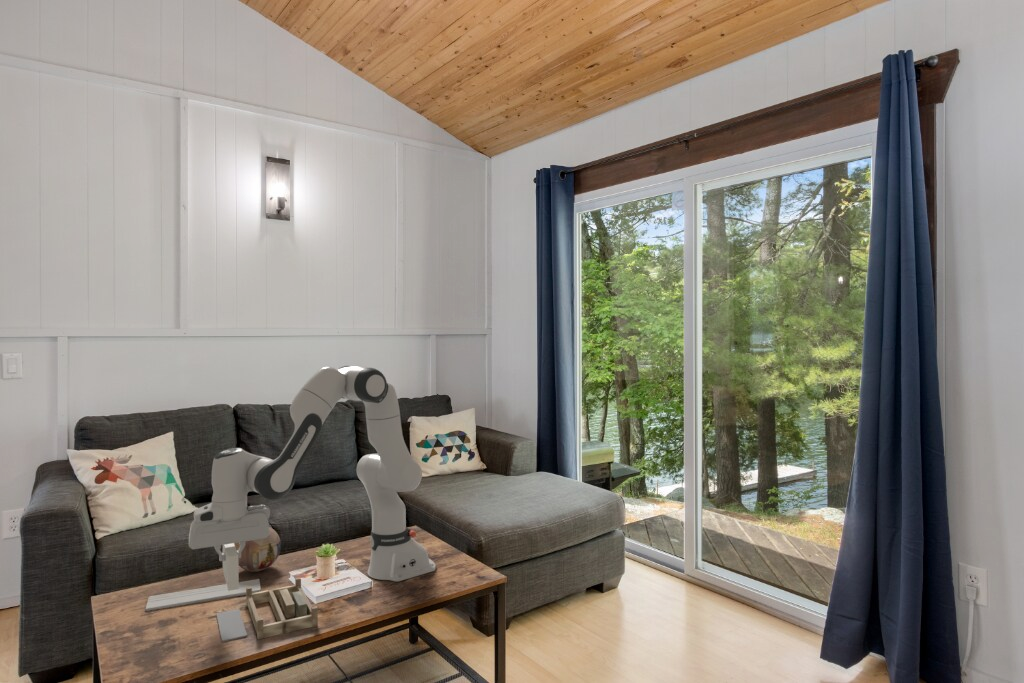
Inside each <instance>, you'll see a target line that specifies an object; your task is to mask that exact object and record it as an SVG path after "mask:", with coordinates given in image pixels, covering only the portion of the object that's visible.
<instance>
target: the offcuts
mask: <svg viewBox="0 0 1024 683" xmlns="http://www.w3.org/2000/svg"><path fill="white" fill-rule="evenodd" d="M278 600H279V601H278V603H279V605H280V606H281V610H282V611H283V613H284V616H285V619H286V618H287V619H288V618H289V619H290V618H293V617H296V618H298V617H303V616H307V603H306V601H305V599H304V597H303V596H302V594H301V592H300V591H297V592H292V597H291V596H290V594H289V592H288V590H287V589H283V590H279V599H278Z"/></svg>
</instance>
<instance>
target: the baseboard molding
mask: <svg viewBox="0 0 1024 683" xmlns="http://www.w3.org/2000/svg"><path fill="white" fill-rule="evenodd" d="M246 587H252V593H256V592H261V591H262V585H261V577H258V578H256V579H251V580H250V579H249V580H244V581H239V589H236V590H230V591H228V588H227V584H226V583H225V584H224V583H223V584H219V585H213V586H212V585H211V586H206V587H200V588H195V589H194V588H193V589H187V590H181V591H175V592H168V593H162V594H157V595H151V596H150V595H149V596H148V598H147V602H146V606H145V612H150V610H152V611H157V609H158V610H162V609H163V608H164V609H169V607H170V608H174V607H175V606H176V607H181V606H180V605H182V606H188V605H193V604H197V603H198V604H200V603H204V602H211V601H217V600H224V599H230V598H236V597H241V596H246ZM187 604H188V605H187ZM164 609H163V610H164Z"/></svg>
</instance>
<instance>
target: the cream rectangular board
mask: <svg viewBox="0 0 1024 683" xmlns="http://www.w3.org/2000/svg"><path fill="white" fill-rule="evenodd" d="M224 552H225V556H226V557H225V558H226V560H224V561H222V573H223V575H224V580H225V584H227V588H228V591H230V590H236V589H239V582H240V581H239V580H240V579H239V571H240V570H239V565H238V553H237V550H236V547H235V544H234V543H232V544H225V545H222V553H224Z"/></svg>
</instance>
